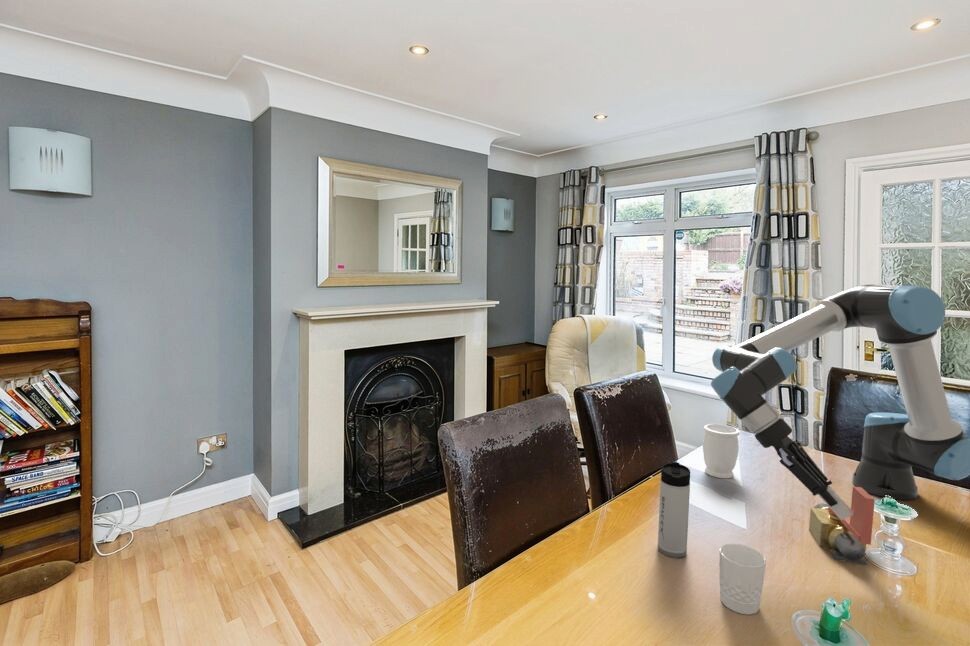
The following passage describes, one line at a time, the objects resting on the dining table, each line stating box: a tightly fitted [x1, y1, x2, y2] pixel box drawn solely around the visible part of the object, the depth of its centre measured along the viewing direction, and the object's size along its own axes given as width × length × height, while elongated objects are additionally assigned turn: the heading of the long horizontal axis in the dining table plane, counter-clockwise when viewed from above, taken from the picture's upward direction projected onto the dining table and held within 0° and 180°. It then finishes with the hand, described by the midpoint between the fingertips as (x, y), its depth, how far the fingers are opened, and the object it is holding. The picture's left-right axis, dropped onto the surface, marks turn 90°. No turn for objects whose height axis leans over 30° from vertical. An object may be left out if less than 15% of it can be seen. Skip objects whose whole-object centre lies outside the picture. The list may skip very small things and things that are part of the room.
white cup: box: [719, 543, 767, 616], centre depth 94 cm, size 8×8×10 cm
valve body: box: [808, 502, 867, 565], centre depth 116 cm, size 19×9×7 cm, turn 162°
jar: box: [702, 423, 740, 479], centre depth 156 cm, size 11×10×15 cm
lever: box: [828, 486, 875, 546], centre depth 110 cm, size 4×16×10 cm, turn 164°
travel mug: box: [657, 461, 691, 559], centre depth 112 cm, size 6×7×20 cm
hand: (847, 516), depth 106 cm, fingers closed
